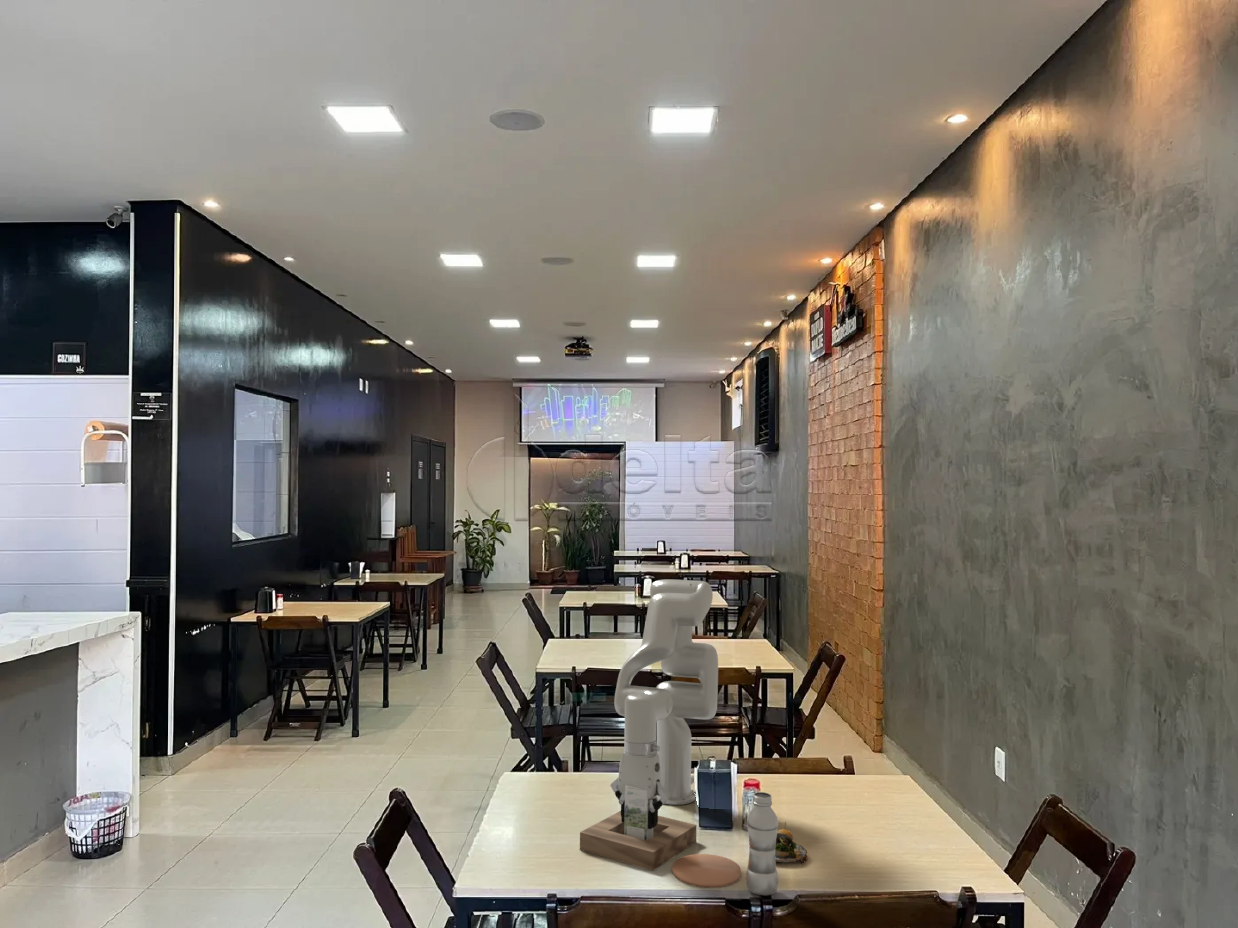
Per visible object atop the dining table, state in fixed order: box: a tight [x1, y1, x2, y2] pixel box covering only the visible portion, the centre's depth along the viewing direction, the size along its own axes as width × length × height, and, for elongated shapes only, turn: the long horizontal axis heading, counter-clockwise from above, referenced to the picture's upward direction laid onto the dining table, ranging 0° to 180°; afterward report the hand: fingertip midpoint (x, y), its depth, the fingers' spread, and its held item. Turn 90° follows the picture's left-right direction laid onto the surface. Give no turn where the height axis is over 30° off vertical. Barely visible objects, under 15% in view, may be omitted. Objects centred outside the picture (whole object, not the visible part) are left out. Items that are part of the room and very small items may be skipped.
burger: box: [775, 822, 808, 865], centre depth 197 cm, size 12×12×8 cm
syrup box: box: [624, 785, 653, 841], centre depth 202 cm, size 6×6×14 cm
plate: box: [671, 853, 742, 889], centre depth 187 cm, size 15×15×1 cm
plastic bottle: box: [745, 791, 780, 896], centre depth 178 cm, size 6×7×20 cm
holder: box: [579, 810, 697, 872], centre depth 202 cm, size 20×20×4 cm
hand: (639, 823), depth 202 cm, fingers closed on syrup box, 6 cm apart
